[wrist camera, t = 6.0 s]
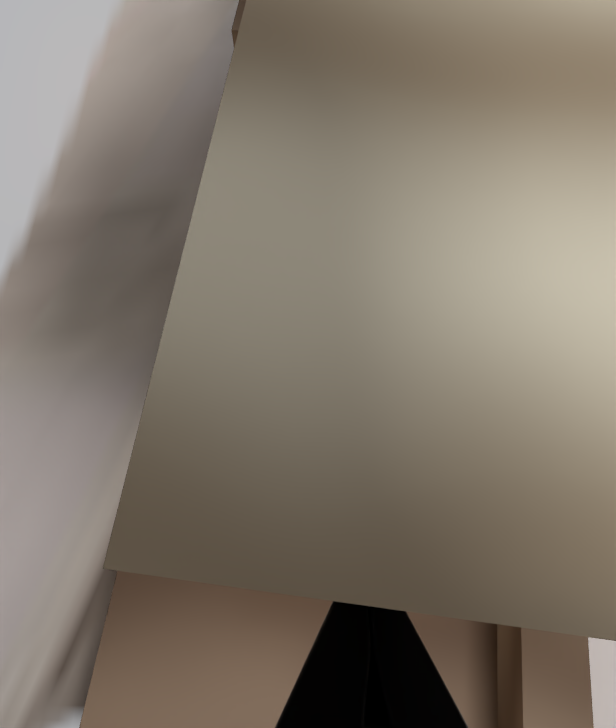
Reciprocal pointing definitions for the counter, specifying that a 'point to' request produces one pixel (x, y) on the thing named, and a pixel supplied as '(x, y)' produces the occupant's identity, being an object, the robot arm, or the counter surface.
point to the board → (304, 657)
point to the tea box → (396, 319)
